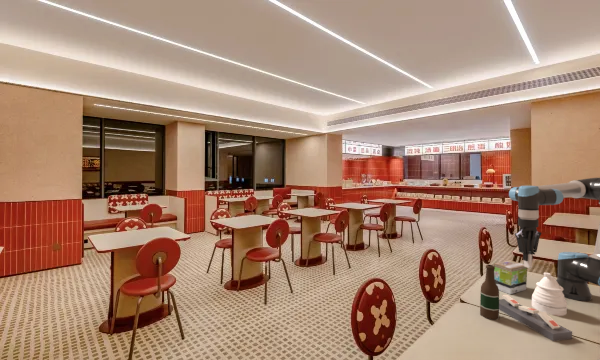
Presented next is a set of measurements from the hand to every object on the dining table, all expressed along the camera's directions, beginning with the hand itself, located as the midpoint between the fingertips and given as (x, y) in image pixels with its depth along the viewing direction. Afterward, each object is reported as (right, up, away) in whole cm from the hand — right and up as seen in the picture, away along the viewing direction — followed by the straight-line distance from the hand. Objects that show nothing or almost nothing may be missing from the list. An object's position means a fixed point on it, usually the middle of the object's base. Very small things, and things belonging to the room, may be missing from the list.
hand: (527, 267), depth 133 cm
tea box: (+11, -21, +27) cm, 36 cm away
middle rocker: (-5, -17, -7) cm, 19 cm away
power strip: (-5, -22, -6) cm, 24 cm away
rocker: (-6, -17, +2) cm, 18 cm away
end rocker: (-4, -18, -16) cm, 24 cm away
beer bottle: (-20, -23, -2) cm, 30 cm away
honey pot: (+14, -22, +4) cm, 26 cm away
